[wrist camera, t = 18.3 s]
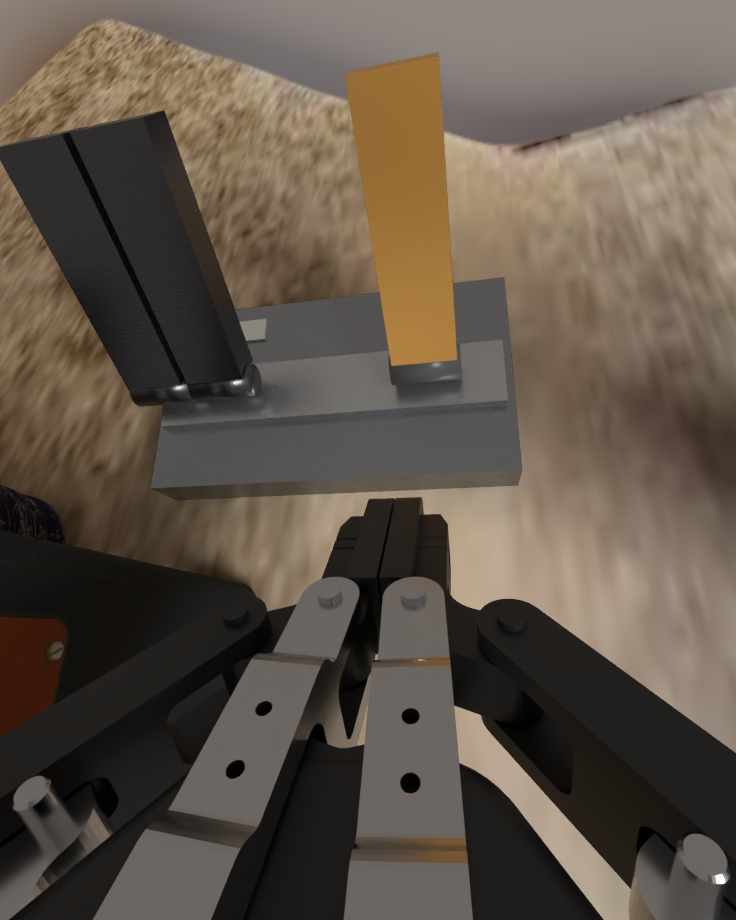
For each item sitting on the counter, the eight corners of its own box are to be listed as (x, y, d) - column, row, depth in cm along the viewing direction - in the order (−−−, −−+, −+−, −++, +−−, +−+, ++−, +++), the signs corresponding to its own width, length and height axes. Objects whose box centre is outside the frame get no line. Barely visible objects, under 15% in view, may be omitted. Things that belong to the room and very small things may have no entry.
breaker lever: (461, 366, 30) (443, 51, 20) (462, 387, 28) (443, 55, 19) (395, 372, 31) (347, 71, 21) (392, 393, 29) (339, 77, 19)
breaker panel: (500, 295, 35) (522, 3, 19) (518, 485, 30) (565, 314, 14) (195, 330, 39) (0, 119, 23) (169, 500, 35) (-95, 383, 19)
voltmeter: (151, 574, 33) (-578, 434, 10) (272, 576, 32) (-278, 416, 9) (100, 854, 28) (-1568, 1826, 5) (242, 876, 27) (-1329, 2489, 3)
